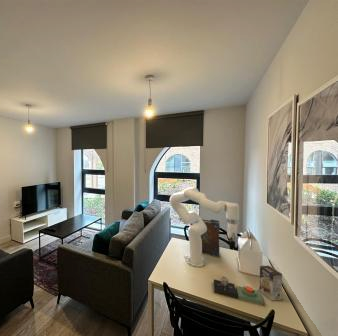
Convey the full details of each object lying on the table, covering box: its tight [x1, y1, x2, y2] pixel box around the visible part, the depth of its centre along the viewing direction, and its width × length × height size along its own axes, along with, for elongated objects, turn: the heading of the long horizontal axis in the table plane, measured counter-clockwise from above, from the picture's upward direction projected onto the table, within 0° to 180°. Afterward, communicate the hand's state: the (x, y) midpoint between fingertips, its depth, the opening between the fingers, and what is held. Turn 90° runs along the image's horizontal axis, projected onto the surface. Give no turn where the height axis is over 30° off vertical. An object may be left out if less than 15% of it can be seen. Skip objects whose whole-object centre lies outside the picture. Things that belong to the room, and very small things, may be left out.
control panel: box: [213, 279, 238, 299], centre depth 120 cm, size 12×10×3 cm
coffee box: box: [259, 265, 283, 301], centre depth 115 cm, size 9×6×16 cm
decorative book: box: [189, 218, 221, 258], centre depth 168 cm, size 23×7×30 cm, turn 62°
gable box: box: [237, 227, 263, 277], centre depth 145 cm, size 22×13×28 cm, turn 149°
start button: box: [244, 285, 254, 293], centre depth 114 cm, size 4×4×2 cm
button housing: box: [235, 285, 265, 306], centre depth 115 cm, size 12×10×4 cm
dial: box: [220, 275, 229, 288], centre depth 120 cm, size 4×4×5 cm
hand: (232, 246), depth 131 cm, fingers closed
